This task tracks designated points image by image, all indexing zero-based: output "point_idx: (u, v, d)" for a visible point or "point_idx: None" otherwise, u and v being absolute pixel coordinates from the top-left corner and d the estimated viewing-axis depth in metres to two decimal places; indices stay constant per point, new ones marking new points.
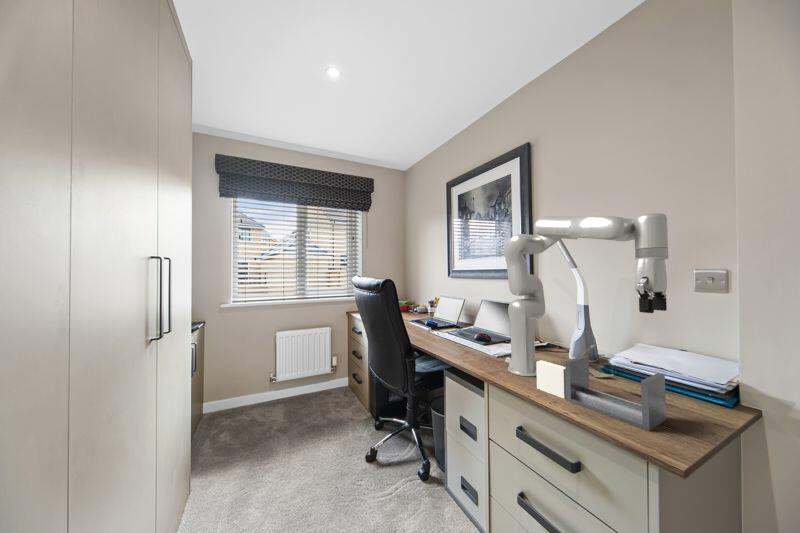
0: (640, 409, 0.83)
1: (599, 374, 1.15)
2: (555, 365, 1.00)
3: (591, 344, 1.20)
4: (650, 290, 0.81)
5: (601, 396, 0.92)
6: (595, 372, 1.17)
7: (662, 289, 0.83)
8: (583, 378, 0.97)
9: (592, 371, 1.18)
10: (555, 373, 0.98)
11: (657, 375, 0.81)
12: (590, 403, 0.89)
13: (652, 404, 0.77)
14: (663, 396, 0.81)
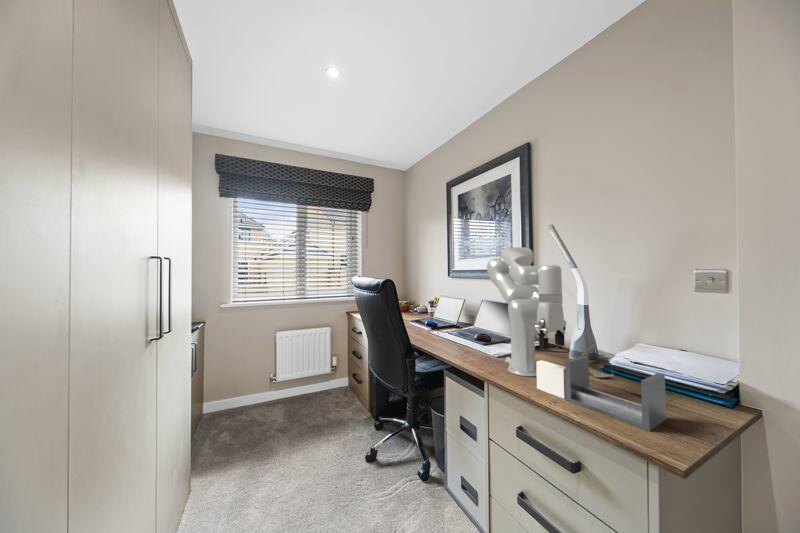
0: (640, 409, 0.83)
1: (599, 374, 1.15)
2: (555, 365, 1.00)
3: (591, 344, 1.20)
4: (546, 330, 0.97)
5: (601, 396, 0.92)
6: (595, 372, 1.17)
7: (558, 328, 0.99)
8: (583, 378, 0.97)
9: (592, 371, 1.18)
10: (555, 373, 0.98)
11: (657, 375, 0.81)
12: (590, 403, 0.89)
13: (652, 404, 0.77)
14: (663, 396, 0.81)
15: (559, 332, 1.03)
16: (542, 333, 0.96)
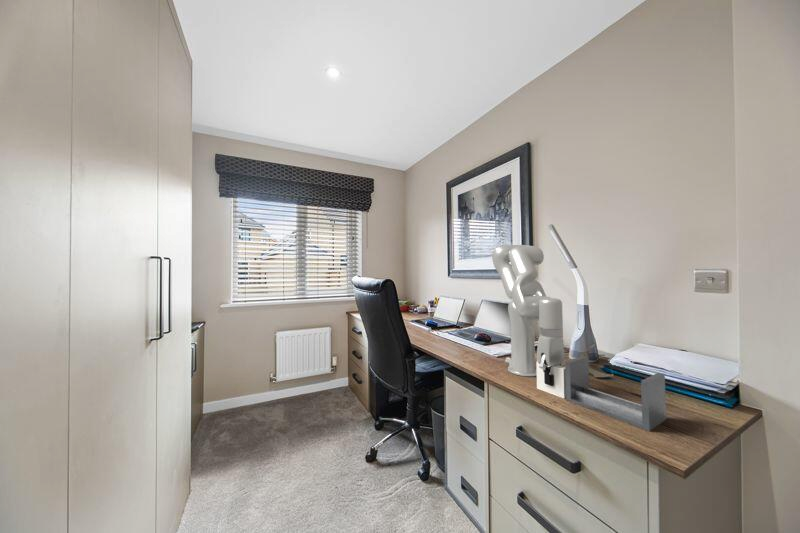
0: (640, 409, 0.83)
1: (599, 374, 1.15)
2: (555, 365, 1.00)
3: (590, 344, 1.20)
4: (549, 367, 0.98)
5: (601, 396, 0.92)
6: (594, 372, 1.17)
7: (558, 362, 0.99)
8: (583, 378, 0.97)
9: (591, 371, 1.18)
10: (555, 373, 0.98)
11: (657, 375, 0.81)
12: (590, 403, 0.89)
13: (652, 404, 0.77)
14: (663, 396, 0.81)
15: None
16: (548, 370, 0.98)
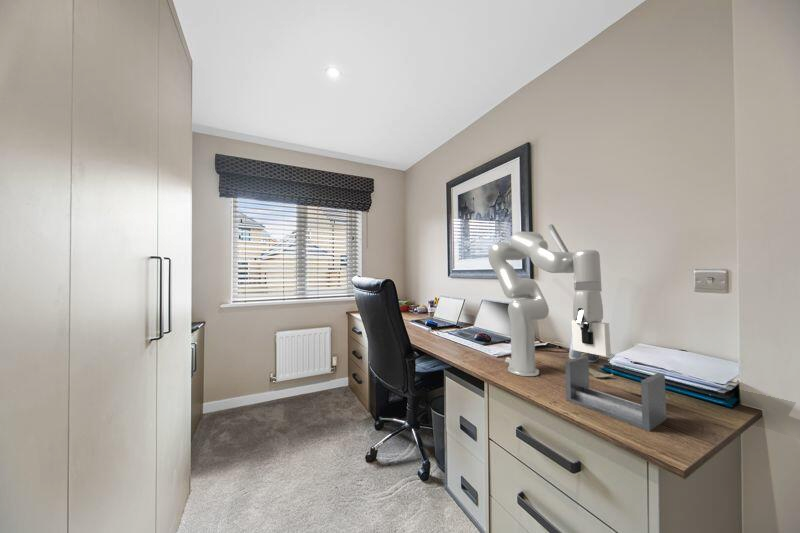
0: (640, 409, 0.83)
1: (598, 374, 1.15)
2: (593, 322, 0.91)
3: None
4: (588, 323, 0.90)
5: (601, 396, 0.92)
6: (594, 372, 1.17)
7: (597, 319, 0.91)
8: (583, 378, 0.97)
9: (591, 371, 1.18)
10: (594, 330, 0.90)
11: (657, 375, 0.81)
12: (590, 403, 0.89)
13: (652, 404, 0.77)
14: (663, 396, 0.81)
15: None
16: (586, 327, 0.90)
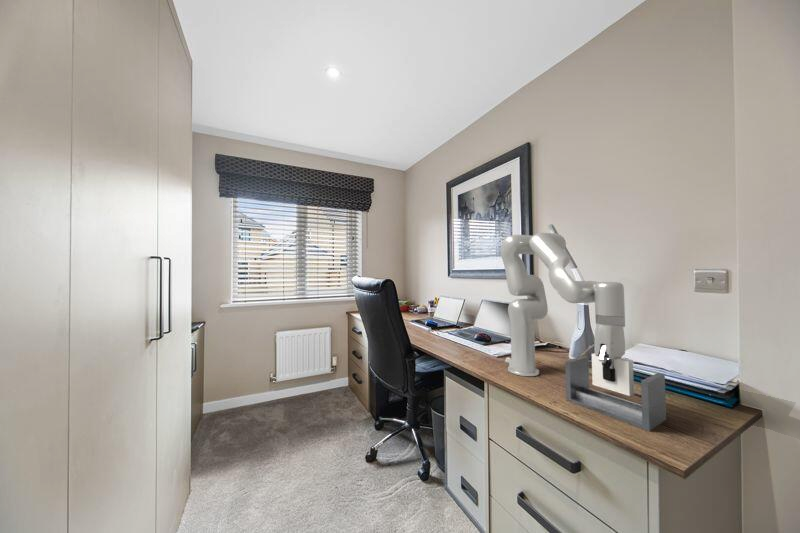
0: (640, 409, 0.83)
1: None
2: None
3: None
4: (610, 360, 0.86)
5: (601, 396, 0.92)
6: None
7: (620, 355, 0.87)
8: (583, 378, 0.97)
9: (591, 371, 1.18)
10: (616, 367, 0.85)
11: (657, 375, 0.81)
12: (590, 403, 0.89)
13: (652, 404, 0.77)
14: (663, 396, 0.81)
15: None
16: (608, 363, 0.85)
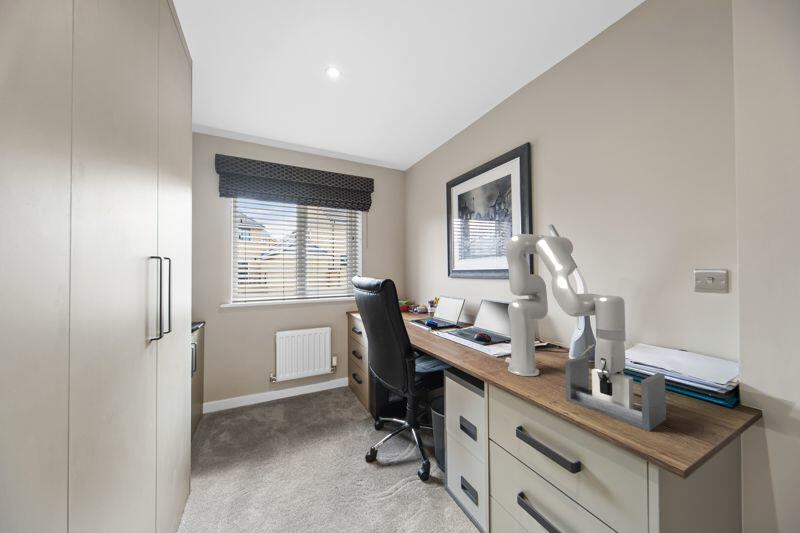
0: (640, 409, 0.83)
1: None
2: (615, 374, 0.87)
3: (589, 344, 1.20)
4: (608, 373, 0.85)
5: None
6: None
7: (620, 369, 0.87)
8: (583, 378, 0.97)
9: (590, 371, 1.18)
10: (617, 384, 0.86)
11: (657, 375, 0.81)
12: (590, 403, 0.89)
13: (652, 404, 0.77)
14: (663, 396, 0.81)
15: None
16: (605, 377, 0.84)
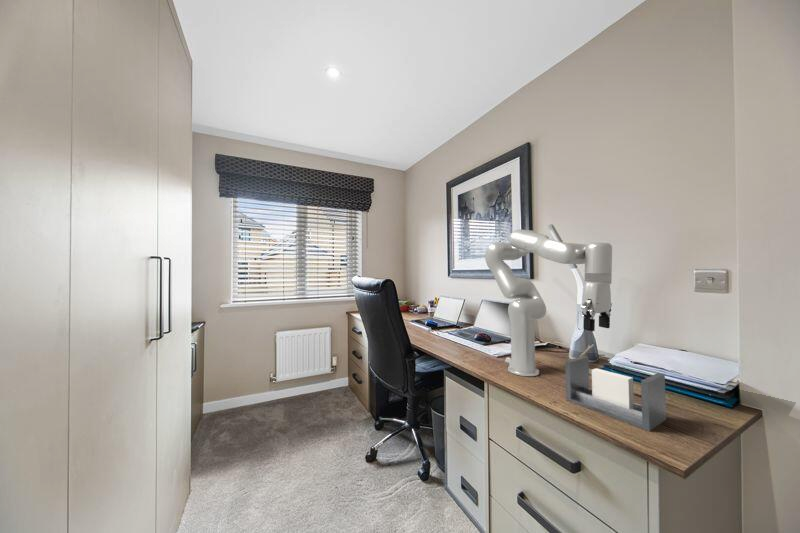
0: (640, 409, 0.83)
1: None
2: (615, 374, 0.87)
3: (589, 344, 1.20)
4: (592, 311, 0.92)
5: None
6: None
7: (605, 310, 0.94)
8: (583, 378, 0.97)
9: (590, 371, 1.18)
10: (616, 384, 0.86)
11: (657, 375, 0.81)
12: (590, 403, 0.89)
13: (652, 404, 0.77)
14: (663, 396, 0.81)
15: (604, 314, 0.98)
16: (588, 314, 0.91)
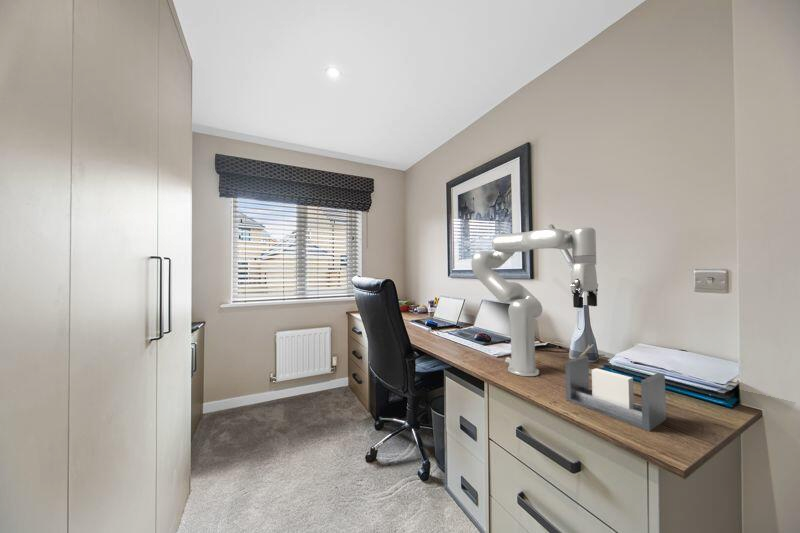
0: (640, 409, 0.83)
1: None
2: (615, 374, 0.87)
3: None
4: (581, 289, 1.01)
5: None
6: None
7: (592, 289, 1.03)
8: (583, 378, 0.97)
9: (590, 371, 1.18)
10: (616, 384, 0.86)
11: (657, 375, 0.81)
12: (590, 403, 0.89)
13: (652, 404, 0.77)
14: (663, 396, 0.81)
15: (591, 293, 1.06)
16: (577, 292, 1.00)
